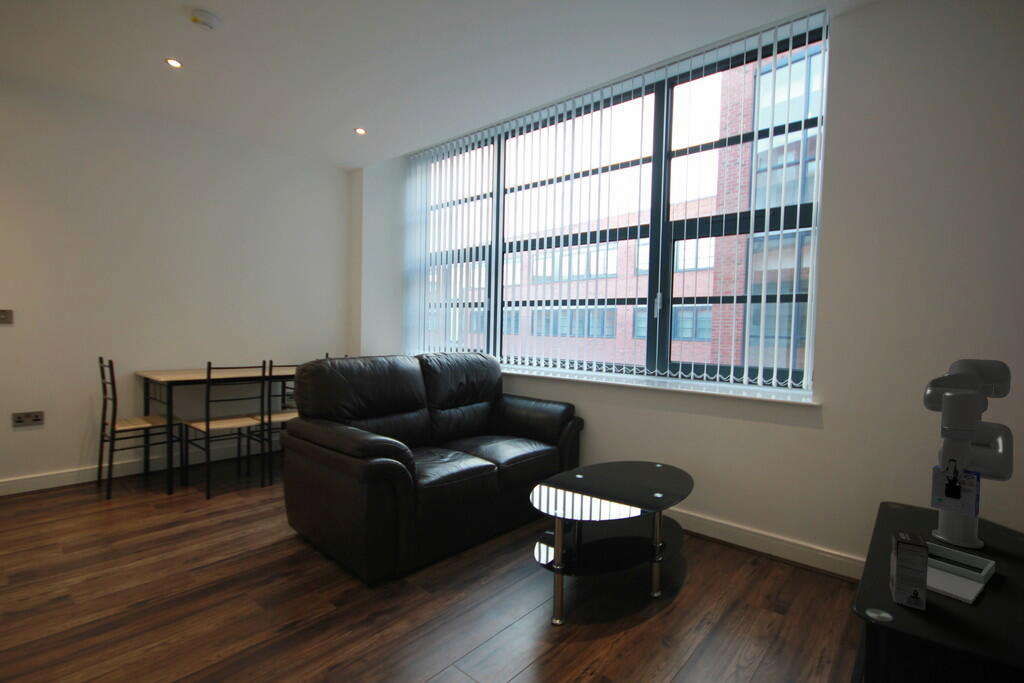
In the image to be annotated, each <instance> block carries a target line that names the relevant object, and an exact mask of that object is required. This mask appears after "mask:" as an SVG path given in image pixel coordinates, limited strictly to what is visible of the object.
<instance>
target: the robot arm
mask: <svg viewBox="0 0 1024 683" xmlns="http://www.w3.org/2000/svg"><path fill="white" fill-rule="evenodd" d="M1011 373H1012V372H1011V370H1010V367H1009V365H1008V364H1007V363H1005V362H1004V361H1002V360H998V359H977V358H963V359H957V360H955V361H953V362H952V363H951V364H950V365H949V368H948V371H947V372H946V373H944V374H942V376H939V377H936V378H935V377H934V378H933V379H931V380H930V381H928V383H927V384H926V386H925V389H924V392H923V399H922V400H923V405H924V407H925V408H926V409H927V410H928V411H931V412H938V413H941V421H940V423H941V424H940V426H941V427H940V438H942V439H943V441H942V447H940V448H939V450H938V452H937V458H938V465H940V471H941V472H943V471H946V469H947V468H948V469H947V477H946V485H945V496H946V497H949V498H954V499H960V495H961V486H960V485H959V484H960V476H961V475H964V472H966V471H967V470H970V471H976V472H980V473H981V478H980V479H983V480H990V481H996V482H1007V481H1010V480H1011V478H1012V476H1013V473H1014V435H1013V431H1012V430H1011V428H1010V427H1009V426H1007V425H1006V424H1003V423H999V422H992V421H983V420H982V416H983V414H984V413H985V412H987V410H988V408H989V399H988V398H991V399H992V398H993V399H1004V398H1006V397H1007V396H1008V395H1009V393H1010V391H1011V383H1012V382H1011V380H1012V374H1011ZM954 472H958V474H955V473H954ZM954 476H957V478H956V477H954ZM956 479H957V480H956ZM979 515H980V513H979V514H978V515H977V516H975V517H971V516H967V515H963V514H959V513H955V512H951V511H946V510H942V509H939V510H938V525H937V526H938V528H936V529H932V531H931V535H932V537H934V538H935V539H938V540H939V541H942V542H943V543H946V544H950V545H953V546H955V547H956V546H957V547H962V548H967V549H983V548H984V546H985V543H984V541H983V540H982V539H980V538H979V537H978V535H979V533H978V532H979V531H978V530H979Z"/></svg>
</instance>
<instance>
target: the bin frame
mask: <svg viewBox="0 0 1024 683" xmlns="http://www.w3.org/2000/svg"><path fill="white" fill-rule="evenodd" d="M926 543H927V545H928V547H929V551H928V554H932V555H933V556H938V557H940V558H944V559H947V560H951V561H955V562H958V563H959V564H964V565H966V566H967V565H968V566H970V567H974V568H977V569H980V570H982V572H981V573H980V572H976V571H972V570H970V569H966V568H963V567H959V566H957V565H954V564H953V565H952V564H950V563H947V562H943V561H940V560H937V559H934V558H931V557H928V567H932V568H935V569H938V570H941V571H944V572H947V573H950V574H953V575H957V576H960V577H963V578H966V579H969V580H972V581H975V582H978V583H981V584H984V586H986V585H987V583H988V582H989V580H990V579H991V578H992V576H993V575H994V574H995V572H996V561H994V560H991V559H988V558H984V557H980V556H978V555H973V554H971V553H970V554H969V553H967V552H963V551H959V550H956V549H952V548H949V547H945V546H942V545H938V544H936V543H932V542H928V541H926Z"/></svg>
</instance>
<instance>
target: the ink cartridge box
mask: <svg viewBox="0 0 1024 683" xmlns="http://www.w3.org/2000/svg"><path fill="white" fill-rule="evenodd" d="M947 469H948V468H947ZM947 469H946V471H943V472H941V471H940V465H939V464H936V465H935V466H933V467H932V472H931V474H932V475H931V492H930V493H931V494H930V495H931V496H930V507H931V508H935V509H942V510H946V511H951V512H955V513H959V514H963V515H967V516H971V517H975V516H977V515H978V514H979V515H980V500H981V499H980V498H981V496H980V494H981V479H982V478H981V473H980V472H976V471H970V470H967V471H966V472H964V475H961V476H960V484H959V485H960V486H961V495H960V499H954V498H949V497H946V496H945V485H946V477H947ZM954 473H955V474H958V472H954ZM954 477H956V478H957V476H954ZM956 480H957V479H956Z"/></svg>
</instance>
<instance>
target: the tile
mask: <svg viewBox="0 0 1024 683" xmlns="http://www.w3.org/2000/svg"><path fill="white" fill-rule="evenodd" d="M984 589H985V585H984V584H981V583H978V582H975V581H972V580H969V579H966V578H963V577H960V576H957V575H953V574H950V573H947V572H944V571H941V570H938V569H935V568H932V567H928V570H927V588H926V590H929V591H932V592H935V593H938V594H940V595H943V596H946V597H949V598H952V599H954V598H955V600H957V599H958V600H957V601H960V600H961V602H963V603H966V604H969V605H973V603H974V602H975V600H976V599H977V598H978V597H979V595H980V594H981V593H982V591H983V590H984ZM976 597H977V598H976ZM973 601H974V602H973Z"/></svg>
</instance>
